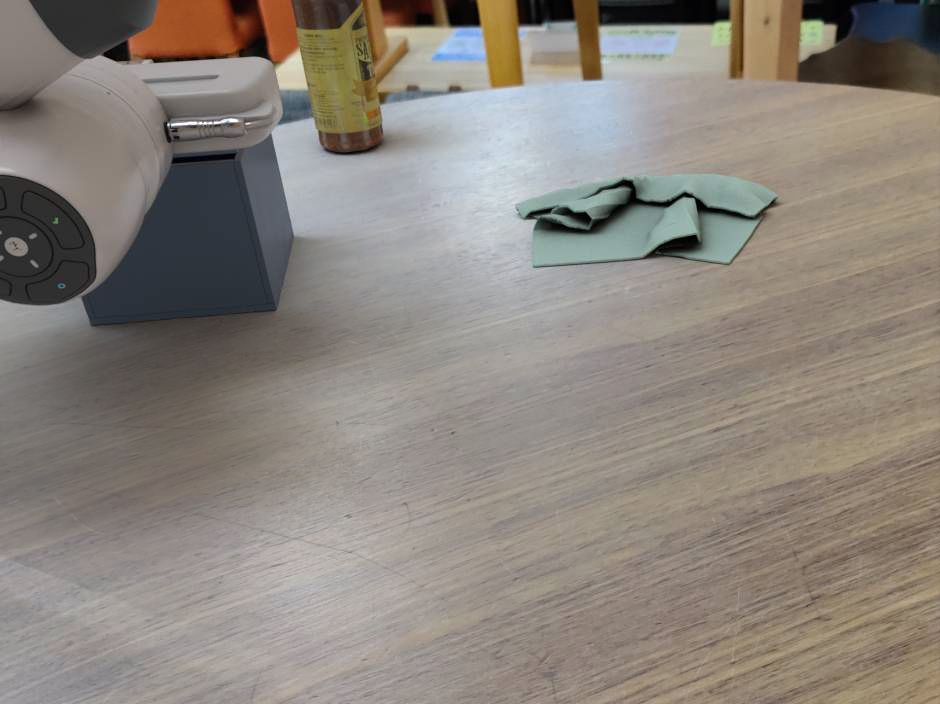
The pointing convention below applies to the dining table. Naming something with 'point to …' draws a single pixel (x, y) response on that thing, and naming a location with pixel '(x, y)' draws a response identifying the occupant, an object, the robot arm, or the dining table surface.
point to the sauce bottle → (339, 73)
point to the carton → (204, 243)
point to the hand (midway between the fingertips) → (134, 73)
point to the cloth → (646, 218)
